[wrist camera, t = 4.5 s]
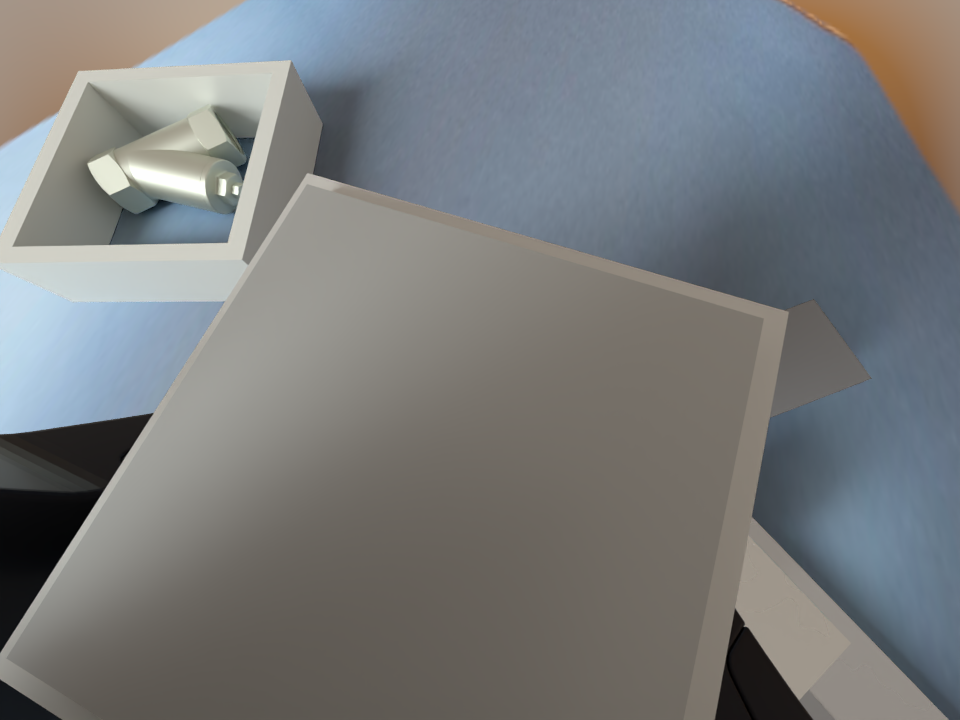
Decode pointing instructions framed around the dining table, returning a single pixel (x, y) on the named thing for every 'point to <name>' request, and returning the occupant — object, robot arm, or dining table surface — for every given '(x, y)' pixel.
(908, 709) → the rail plate
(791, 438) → the dining table surface
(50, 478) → the robot arm
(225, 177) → the pipe fitting
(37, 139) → the dining table surface
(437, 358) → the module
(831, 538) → the dining table surface
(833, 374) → the grey rectangular block
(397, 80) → the dining table surface
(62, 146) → the parts tray
